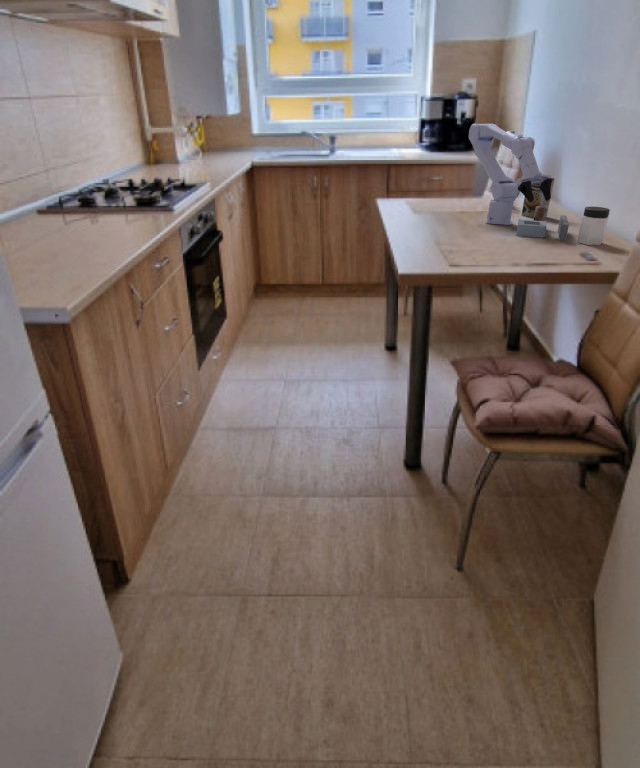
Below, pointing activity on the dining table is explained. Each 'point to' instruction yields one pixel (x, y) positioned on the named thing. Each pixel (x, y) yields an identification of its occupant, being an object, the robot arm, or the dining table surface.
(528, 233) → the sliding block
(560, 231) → the wall
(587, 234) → the jar
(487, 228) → the dining table surface
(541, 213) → the dowel
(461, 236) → the dining table surface
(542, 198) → the coffee box
